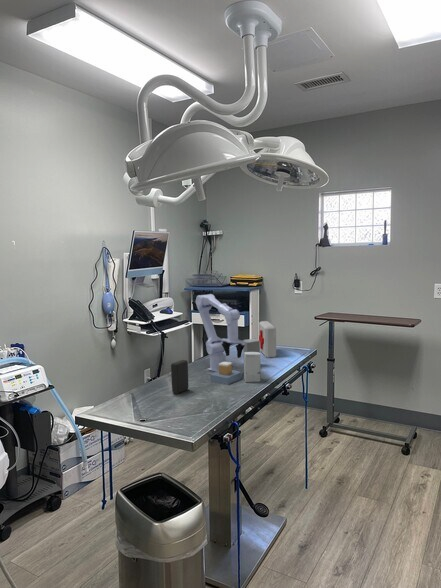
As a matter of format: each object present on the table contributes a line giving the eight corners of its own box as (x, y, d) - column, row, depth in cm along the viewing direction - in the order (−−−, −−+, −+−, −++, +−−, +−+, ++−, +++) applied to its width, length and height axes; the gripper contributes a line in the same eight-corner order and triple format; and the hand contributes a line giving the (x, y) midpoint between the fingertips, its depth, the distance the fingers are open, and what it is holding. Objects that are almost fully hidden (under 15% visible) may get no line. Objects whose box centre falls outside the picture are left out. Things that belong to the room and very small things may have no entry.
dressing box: (225, 375, 240) (225, 368, 240) (241, 379, 233) (241, 371, 233) (210, 382, 230) (210, 374, 229) (227, 385, 223) (227, 378, 223)
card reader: (183, 388, 220) (182, 359, 218) (189, 389, 218) (188, 360, 216) (171, 393, 213) (170, 363, 211) (177, 394, 210) (176, 364, 209)
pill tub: (223, 371, 235) (223, 361, 234) (232, 372, 232) (232, 362, 231) (218, 374, 230) (218, 363, 230) (227, 375, 227) (227, 365, 227)
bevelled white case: (257, 350, 293) (257, 321, 291) (269, 349, 294) (268, 320, 292) (264, 358, 273) (263, 327, 270) (276, 357, 273) (276, 326, 271)
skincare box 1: (256, 363, 261) (255, 337, 259) (260, 366, 254) (260, 340, 252) (242, 365, 258) (242, 339, 256) (247, 368, 251) (246, 341, 250)
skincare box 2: (245, 382, 226) (244, 354, 225) (244, 378, 232) (243, 351, 231) (261, 381, 226) (260, 353, 225) (259, 378, 232) (259, 351, 231)
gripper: (217, 332, 238) (218, 356, 240) (239, 334, 229) (240, 359, 231) (225, 329, 244) (225, 353, 245) (247, 332, 235) (247, 356, 237)
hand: (233, 356), depth 238 cm, fingers open, 7 cm apart
